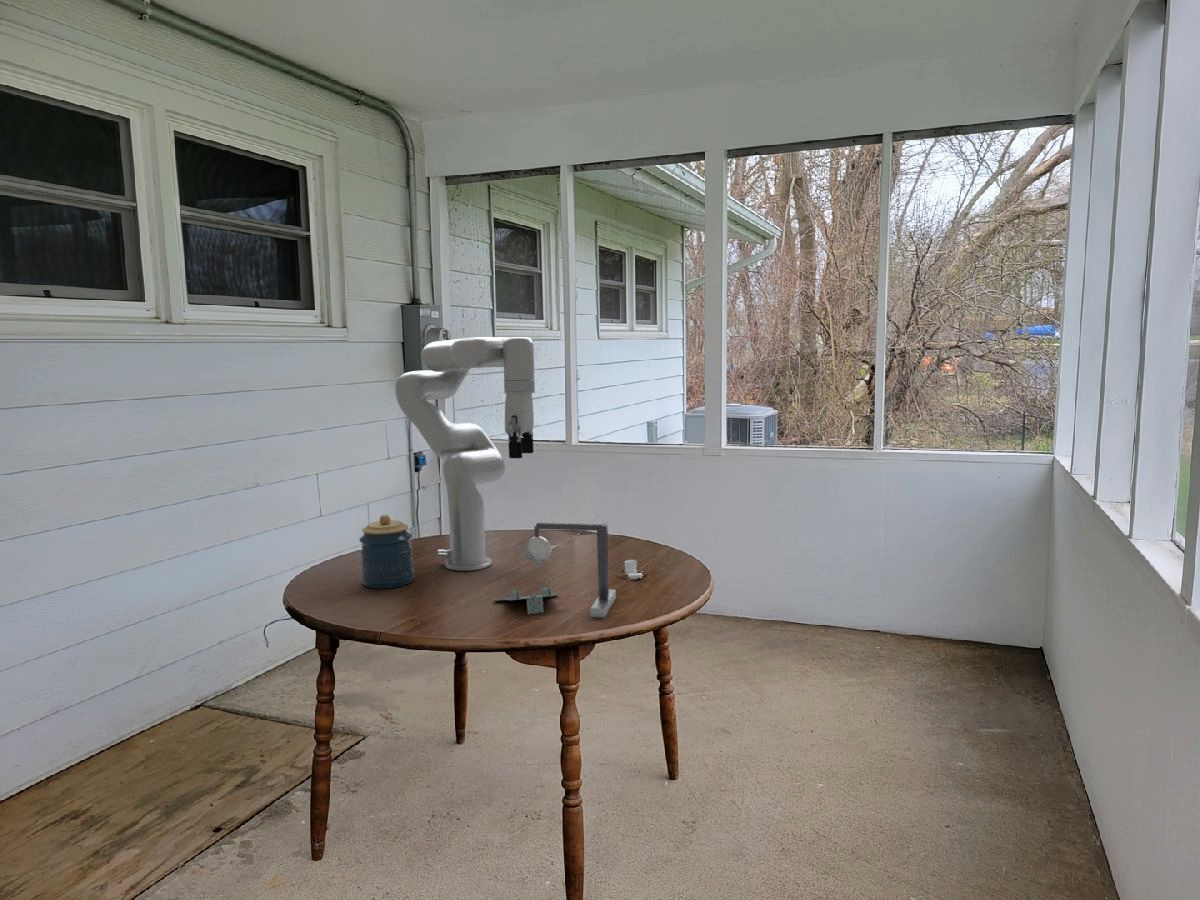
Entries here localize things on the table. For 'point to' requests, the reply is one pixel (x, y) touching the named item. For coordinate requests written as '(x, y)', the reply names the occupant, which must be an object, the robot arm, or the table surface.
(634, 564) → the white ring with cylinder
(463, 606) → the table surface
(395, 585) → the canister
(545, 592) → the metal bracket
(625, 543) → the table surface
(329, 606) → the table surface
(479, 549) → the robot arm
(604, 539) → the metal desk lamp
